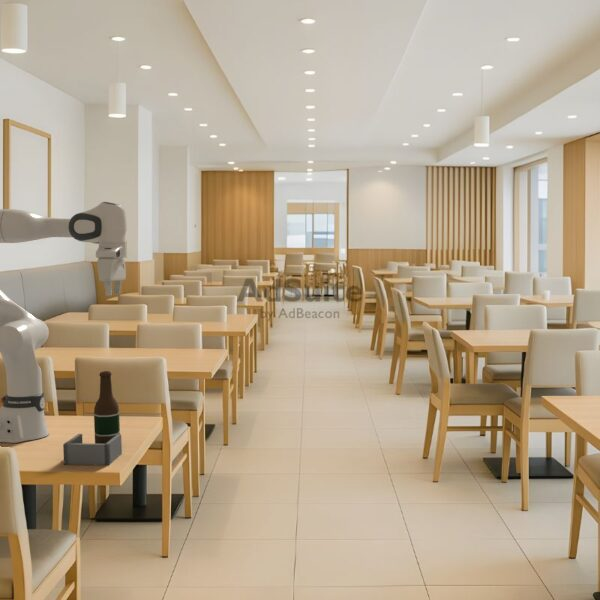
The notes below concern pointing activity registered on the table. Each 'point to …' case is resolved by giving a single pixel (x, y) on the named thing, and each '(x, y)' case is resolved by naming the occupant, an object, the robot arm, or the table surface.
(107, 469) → the table surface
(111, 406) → the beer bottle
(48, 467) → the table surface
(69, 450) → the bottle stall
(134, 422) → the table surface
